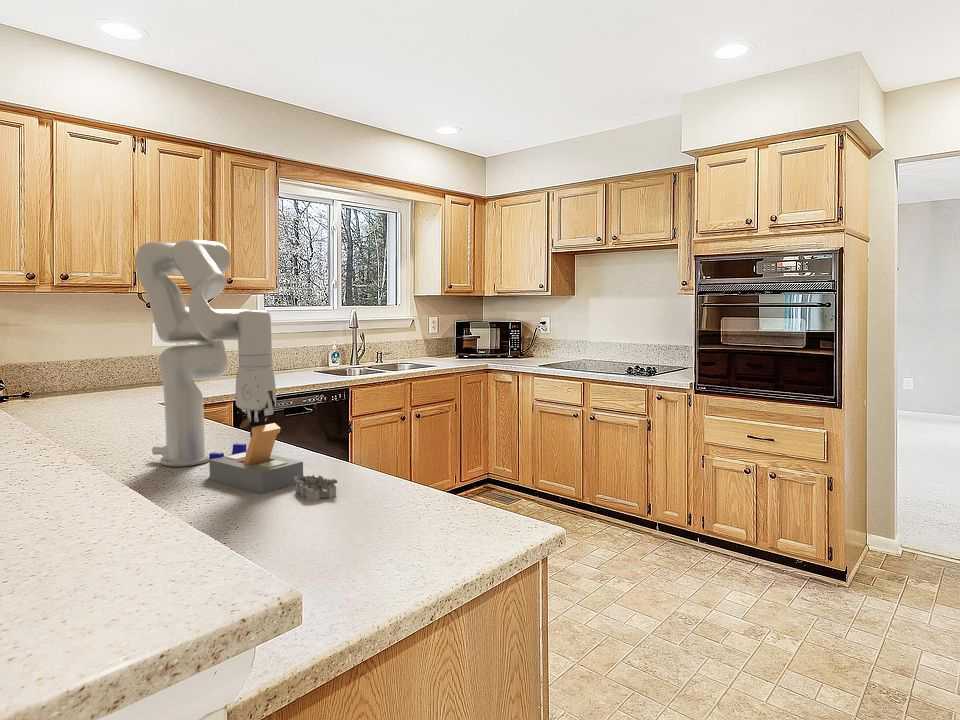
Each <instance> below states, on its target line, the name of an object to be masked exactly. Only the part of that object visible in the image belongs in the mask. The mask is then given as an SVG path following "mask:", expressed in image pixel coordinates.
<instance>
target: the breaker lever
mask: <svg viewBox="0 0 960 720" xmlns="http://www.w3.org/2000/svg"><path fill="white" fill-rule="evenodd" d="M281 430H282V428H281V427H280V426H279V425H278V424H277V423H275V422H272V423H268V424H265V425H262V426H256V427H252V430H251V433H252V437H250V441H249V444H248V447H247V449H246V451H247V453H246V457H245V460H244V464H248V465H255V464H260V463H264V462H268V461H269V458H270V455H272V451H273V448H274V445H275V443H276V439H277V435H279V434H280V432H281Z"/></svg>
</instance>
